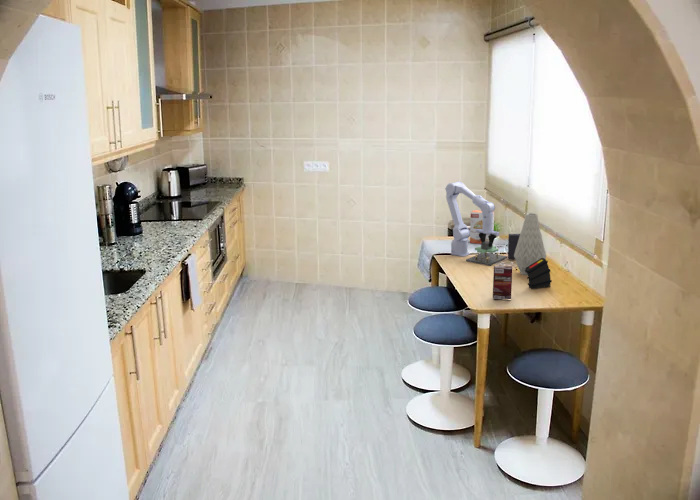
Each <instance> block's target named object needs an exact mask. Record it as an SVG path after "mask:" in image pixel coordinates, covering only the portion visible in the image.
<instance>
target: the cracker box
mask: <svg viewBox="0 0 700 500" xmlns="http://www.w3.org/2000/svg"><path fill="white" fill-rule="evenodd" d="M469 219H470V225H469V227H470V228H469V231H470V236H469V243H470V244H478V245H479V244H480V245H481V243H482V242H481V239H480V237H479V234H480V233H476V229H483V215H482V211H481V210H476V209H473V210H471V211H470V218H469ZM494 226H495V211H493V231H495V227H494ZM488 236H489V234H486V239H485V241H489V238H488Z"/></svg>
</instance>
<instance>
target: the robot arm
mask: <svg viewBox="0 0 700 500" xmlns="http://www.w3.org/2000/svg"><path fill="white" fill-rule="evenodd" d="M444 189H445V190H444V191H445V193H446V195H445V197H446V202H447V205H448V208H449V212H450V215H451V219H452V222H453V225H454V226H453V228H452V235H453V240H452V241H451V242H450V243H451V244H450V247H451V249H450V252H451V253H450V255H453V256H458V257H466V256H468V255H471V252H468V250H469V249H468V245H469V243H468V241H469V239H470V228H469V227H468V225H467V224H465V223H464V220H463V218H462V217H463V216H462V213H461V210H460V207H459V204H458V200H457V197H458V196H459V194H462V195H464V196H465V197H467V198H469V199H470V200H471V202H472V204H474V205H475V206H477V207H478V208H479V209H480V211H482V215H483V229H476V233H480V234H479V237H480V239H481V242H482V243H483V242H485V239H486V234H489V236H488V238H489V247H492V244H493V245H494V241H495V239H496V237H499V236H500V232H499V231H495V230H494V231H493V212H495V209H496V205H495V204H494V202H493V201H489V200H487V199H485V198H484V197H483V196H482V195H479V194H475V193H474V192H473V191H472V190H471V189H469V188H468V187H467V186H466V184H465V183H463V182H462V181H459V180H458V181H456V182H449V183H447V184H446V187H445V188H444Z"/></svg>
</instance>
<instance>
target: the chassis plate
mask: <svg viewBox="0 0 700 500" xmlns="http://www.w3.org/2000/svg"><path fill="white" fill-rule="evenodd" d="M506 259H508V255H502V254H499V252H496V253H489V252H485V253H478V254H475V255H473V256H471V257H469V258H466V259H465V262H469V263H473V264H478V265H483V266H489V267H491V266H494V265H495V264H497V263H500V262H502V261H504V260H506Z"/></svg>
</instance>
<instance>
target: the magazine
mask: <svg viewBox="0 0 700 500" xmlns="http://www.w3.org/2000/svg"><path fill="white" fill-rule="evenodd" d="M548 262H549V261H548V260H547V258H546V259H544V258H541V259H539V260H538V261H536V262H534V263H533V264H531V265H530V266H528V267H526V268H525V272H527V274H528V276H527V277H526V279H528V283H527V285H528V289H531V290H536V289H544V288H551V283H552V280H551V269H550V267H549V264H548Z"/></svg>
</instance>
